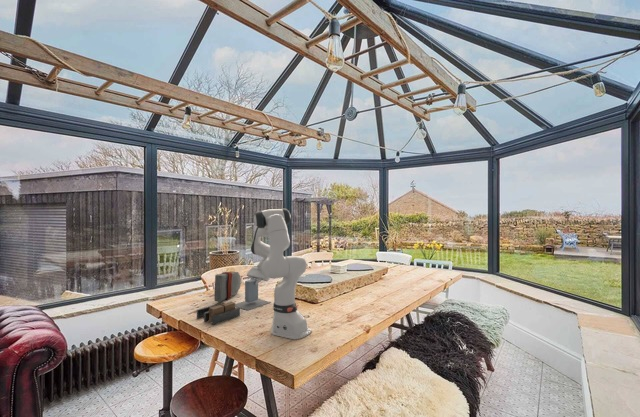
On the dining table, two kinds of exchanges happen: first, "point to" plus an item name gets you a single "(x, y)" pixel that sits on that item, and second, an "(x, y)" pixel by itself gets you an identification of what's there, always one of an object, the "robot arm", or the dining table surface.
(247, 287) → the panel
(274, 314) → the robot arm
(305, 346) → the dining table surface
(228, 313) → the rack
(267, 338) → the dining table surface
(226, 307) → the offcut
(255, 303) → the mat
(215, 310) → the offcut
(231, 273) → the decorative stone tablet
